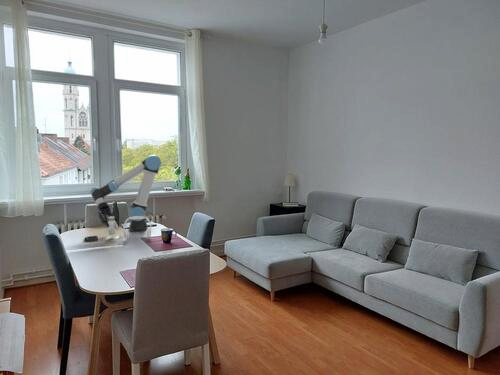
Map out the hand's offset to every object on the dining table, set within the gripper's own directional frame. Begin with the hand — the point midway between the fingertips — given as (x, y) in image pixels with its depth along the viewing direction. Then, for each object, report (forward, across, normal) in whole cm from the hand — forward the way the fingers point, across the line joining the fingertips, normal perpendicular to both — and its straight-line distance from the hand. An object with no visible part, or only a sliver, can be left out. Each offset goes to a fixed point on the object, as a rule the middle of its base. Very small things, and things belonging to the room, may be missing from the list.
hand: (114, 229), depth 260 cm
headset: (+14, -12, +2) cm, 19 cm away
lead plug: (0, 0, -6) cm, 6 cm away
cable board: (+2, +6, -11) cm, 12 cm away
